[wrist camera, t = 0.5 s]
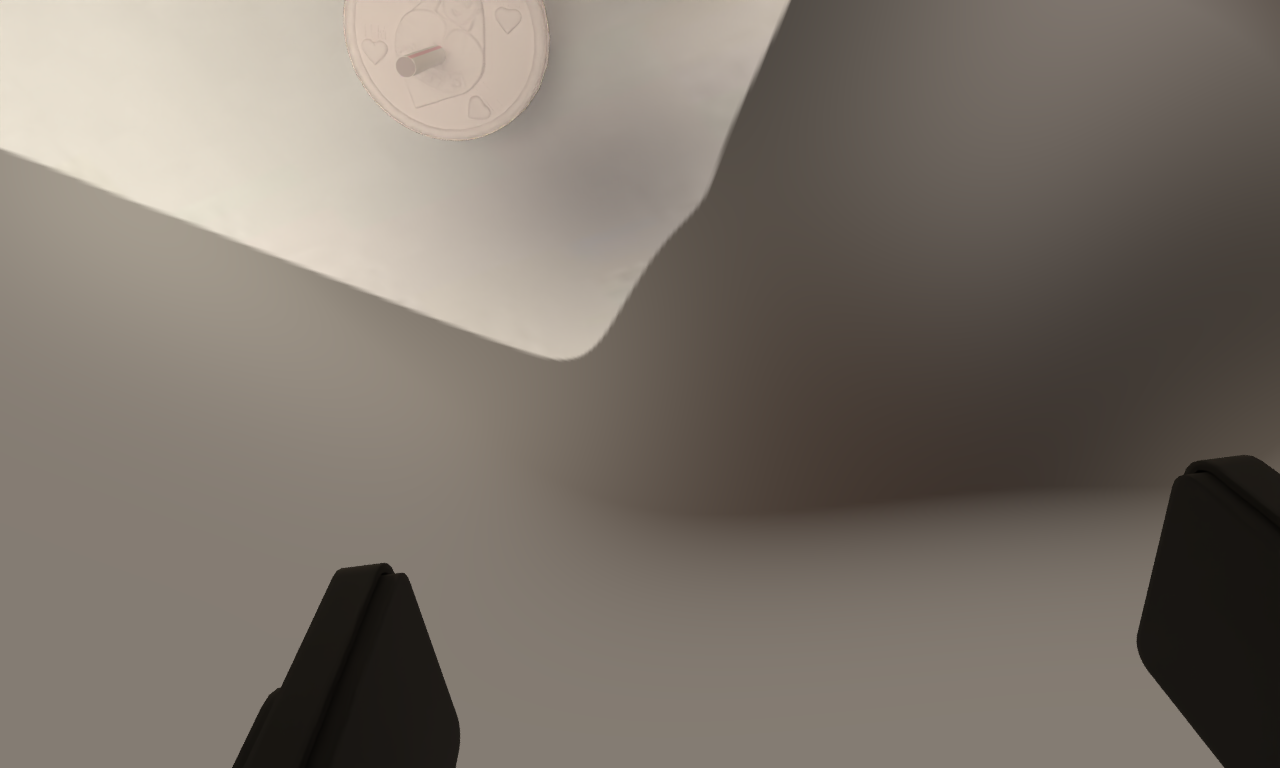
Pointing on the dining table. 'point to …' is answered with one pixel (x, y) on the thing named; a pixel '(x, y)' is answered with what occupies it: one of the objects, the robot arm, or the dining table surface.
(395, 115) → the smoothie
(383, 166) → the dining table surface
